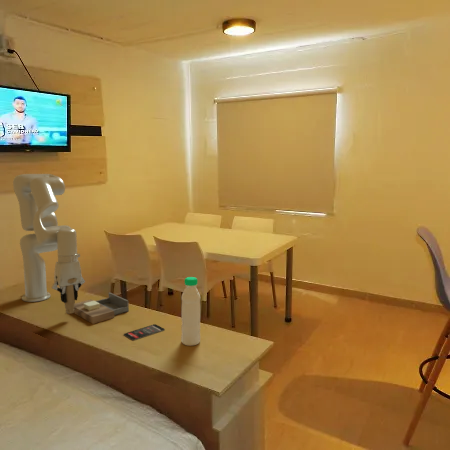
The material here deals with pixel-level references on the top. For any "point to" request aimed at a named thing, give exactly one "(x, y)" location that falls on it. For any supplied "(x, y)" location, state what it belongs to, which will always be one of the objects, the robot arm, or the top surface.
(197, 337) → the water bottle
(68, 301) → the handle
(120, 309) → the box
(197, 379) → the top surface
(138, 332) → the smartphone
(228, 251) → the top surface
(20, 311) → the top surface
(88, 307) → the tile
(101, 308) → the board
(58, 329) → the top surface
